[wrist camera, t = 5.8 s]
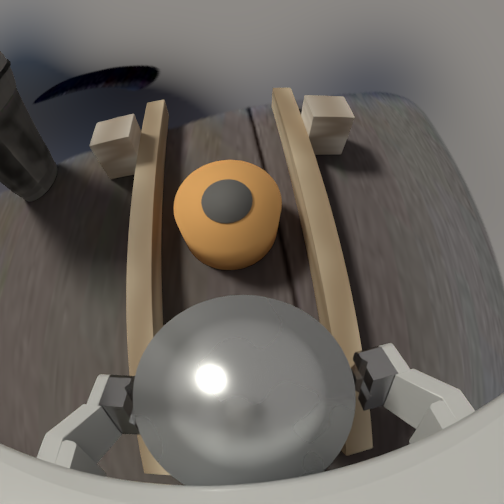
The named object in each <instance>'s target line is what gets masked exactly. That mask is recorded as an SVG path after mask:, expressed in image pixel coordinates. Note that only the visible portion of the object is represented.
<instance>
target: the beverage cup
mask: <svg viewBox="0 0 504 504" xmlns="http://www.w3.org/2000/svg"><path fill="white" fill-rule="evenodd" d="M56 175H57V165H56V163H55V162H54V160H53V158H52V156H51V154H50V151H49V150H48V148H47V146H46V145H45V143H44V141H43V140H42V137H41V136H40V134H39V132H38V130H37V129H36V127H35V125H34V123H33V121H32V119H31V117H30V115H29V113H28V111H27V109H26V107H25V105H24V103H23V101H22V99H21V97H20V95H19V93H18V91H17V88H16V83H15V79H14V76H13V72H12V70H11V68H10V61H9V60H8V59H6V58H5V57H4V55H3V54H2V53H1V52H0V182H1V183H2V184H4V185H5V186H6V187H7V188H9V189H10V190H11V191H12V192H14V193H15V194H17V195H19V196H20V197H22V198H23V199H24V200H26V201H29V202H31V201H34V200H37V199H38V198H40V197H41V196H42V195H44V194H45V193H46V192H47V191H48V189H49V188H50V187H51V186H52V184H53V182H54V180H55V178H56Z"/></svg>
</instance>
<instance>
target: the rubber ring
mask: <svg viewBox="0 0 504 504" xmlns="http://www.w3.org/2000/svg"><path fill="white" fill-rule="evenodd" d="M281 208H282V200H281V194H280V191H279V188H278V186H277V184H276V183H275V181H274V180H273V179H272V177H271V176H270V175H269V174H268V173H267V172H265V171H264V170H263V169H261V168H259V167H258V166H256V165H253V164H251V163H248V162H244V161H239V160H222V161H216V162H212V163H209V164H207V165H204V166H202V167H200V168H198V169H197V170H195V171H194V172H193V173H191V174H190V175H189V176H188V177H187V178H186V179H185V180H184V181H183V183H182V184H181V185H180V187H179V189H178V191H177V194H176V196H175V200H174V216H175V220H176V223H177V225H178V227H179V230H180V232H181V234H182V236H183V238H184V240H185V242H186V244H187V246H188V248H189V249H190V251H191V252H192V254H193V255H194V256H195V257H196V258H197V259H198V260H199V261H201V262H202V263H204V264H206V265H208V266H210V267H213V268H216V269H221V270H237V269H242V268H245V267H248V266H251V265H253V264H255V263H256V262H258V261H259V260H261V259H262V258H263V257H264V256H265V255H266V254H267V253H268V252H269V250H270V249H271V247H272V246H273V244H274V241H275V239H276V235H277V230H278V224H279V219H280V214H281Z"/></svg>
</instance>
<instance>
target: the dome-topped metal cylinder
mask: <svg viewBox="0 0 504 504" xmlns="http://www.w3.org/2000/svg"><path fill="white" fill-rule="evenodd" d="M355 404H356V394H355V384H354V379H353V374H352V371H351V368H350V365H349V362H348V360H347V358H346V356H345V354H344V352H343V350H342V348H341V347H340V345H339V344H338V343H337V341H336V340H335V338H334V337H333V336H332V335H331V334H330V332H329V331H328V330H327V329H326V328H325V327H324V326H323V325H322V324H320V323H319V322H318V321H317V320H316V319H314V318H313V317H312V316H310V315H309V314H307V313H305V312H304V311H302V310H301V309H298V308H296V307H294V306H292V305H290V304H288V303H285V302H282V301H279V300H276V299H272V298H267V297H262V296H253V295H231V296H225V297H219V298H214V299H211V300H207V301H204V302H201V303H199V304H197V305H194V306H192V307H190V308H188V309H186V310H185V311H183V312H181V313H180V314H178V315H176V316H175V317H174V318H173V319H171V320H170V321H169V322H167V323H166V324H165V325H164V326H163V327H162V328H161V329H160V330H159V331H158V332H157V333H156V335H155V336H154V337H153V339H152V340H151V341H150V343H149V344H148V346H147V348H146V349H145V351H144V353H143V355H142V357H141V359H140V362H139V365H138V367H137V370H136V375H135V379H134V386H133V409H134V414H135V419H136V423H137V426H138V429H139V432H140V435H141V437H142V439H143V441H144V443H145V445H146V447H147V448H148V450H149V451H150V453H151V454H152V456H153V457H154V458H155V460H156V461H157V462H158V463H159V464H160V465H161V466H162V467H163V468H164V469H165V470H166V471H167V472H168V473H169V474H170V475H172V476H173V477H174V478H175V479H177V480H178V481H180V482H181V483H183V484H184V485H192V486H212V485H237V484H250V483H260V482H269V481H276V480H283V479H290V478H295V477H301V476H306V475H311V474H316V473H321V472H323V471H324V470H325V469H326V468H327V467H328V466H329V465H330V464H331V463H332V462H333V461H334V459H335V458H336V457H337V455H338V454H339V453H340V451H341V449H342V447H343V446H344V444H345V442H346V440H347V438H348V435H349V433H350V430H351V427H352V423H353V419H354V414H355Z"/></svg>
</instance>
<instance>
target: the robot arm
mask: <svg viewBox="0 0 504 504" xmlns="http://www.w3.org/2000/svg"><path fill="white" fill-rule="evenodd" d="M353 361H354V363H355V364H354V365H353V366H352V367H351V371H352V374H353V379H354V384H355V391H357V392H359V396H358V400H359V402H360V404H361V406H362V408H363V410H364V411H365V410H369V409H372V408H376V407H380V406H383V405H384V407H385V408H386V409H388V410H389V411H391V412H392V413H394V414H395V415H396V416H398V417H399V418H401V419H402V420H404V421H405V422H407V423H408V424H410V425H411V426H412V427H414V428H415V429H416V430H415V432H414V433H413V435H412V436H411V438H410V440H409V442H410V444H409V445H407V446H404V447H402V448H399V449H397V450H394V451H391V452H389V453H386V454H383V455H380V456H377V457H374V458H371V459H368V460H365V461H362V462H359V463H355V464H352V465H348V466H345V467H341V468H337V469H333V470H329V471H325V472H321V473H316V474H311V475H306V476H301V477H295V478H290V479H283V480H276V481H269V482H260V483H250V484H237V485H212V486H192V485H168V484H155V483H145V482H137V481H129V480H123V479H116V478H111V477H106V472H105V471H104V470H103V469H102V468H101V467H100V466H98V465H97V463H98V462H99V460H100V459H101V458H102V457H103V456H104V455H105V454H106V452H107V451H108V450H109V449H110V448H111V447H112V445H113V444H114V443H115V442H116V441H117V440H118V439H119V437H120V436H121V435H122V434H137V435H140V432H139V429H138V426H137V423H136V419H135V414H134V409H133V386H134V379H135V376H125V375H105V374H100V375H99V376H98V377H97V379H96V382H95V384H94V387H93V389H92V392H91V394H90V397H89V399H88V402H87V404H83V405H82V406H81V407H79V408H78V409H77V410H75V411H74V412H73V413H72V414H70V415H69V416H68V417H67V418H65V419H64V420H63V421H62V422H60V423H59V424H58V425H56V426H55V427H54V428H53V429H51V430H50V431H49V432H47V433H46V434H45V437H44V440H43V442H42V445H41V447H40V450H39V453H38V456H37V458H35V457H33V456H30V455H27V454H25V453H22V452H19V451H17V450H15V449H12V448H10V447H8V446H5V445H3V444H1V443H0V504H504V393H502V394H501V395H500V396H498V397H497V398H495V399H494V400H492V401H491V402H489V403H488V404H486V405H484V406H483V407H481V408H480V409H478V410H476V411H475V410H474V409H473V407H472V406H471V405H470V403H469V402H468V400H467V399H466V398H465V396H464V395H463V393H462V392H461V391H460V390H459V389H457V388H455V387H452V386H450V385H448V384H446V383H444V382H441V381H439V380H437V379H435V378H433V377H430V376H428V375H426V374H424V373H422V372H420V371H417V370H415V369H411V370H410V368H409V367H408V365H407V364H406V362H405V361H404V360H403V358H402V357H401V355H400V354H399V352H398V351H397V350H396V348H395V347H394V345H393V344H391V343H388V344H385V345H381V346H377V347H373V348H369V349H365V350H361V351H357V352H355V353H354V356H353Z"/></svg>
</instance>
